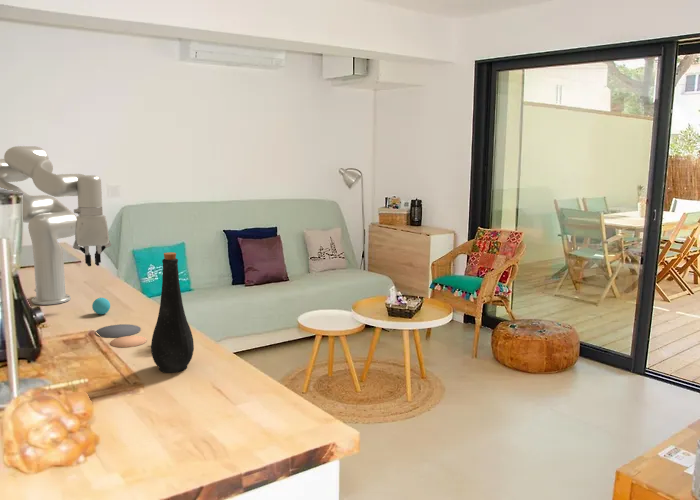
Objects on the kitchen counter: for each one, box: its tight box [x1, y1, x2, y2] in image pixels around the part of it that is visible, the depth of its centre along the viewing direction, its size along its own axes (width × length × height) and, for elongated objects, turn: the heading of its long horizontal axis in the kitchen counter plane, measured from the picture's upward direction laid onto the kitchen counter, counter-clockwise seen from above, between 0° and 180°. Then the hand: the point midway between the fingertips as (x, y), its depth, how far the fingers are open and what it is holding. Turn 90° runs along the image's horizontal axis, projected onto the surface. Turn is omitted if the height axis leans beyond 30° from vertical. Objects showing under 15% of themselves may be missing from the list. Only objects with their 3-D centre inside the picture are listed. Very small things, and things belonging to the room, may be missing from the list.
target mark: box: [95, 323, 142, 339], centre depth 187 cm, size 13×13×1 cm
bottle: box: [150, 251, 195, 374], centre depth 155 cm, size 11×11×30 cm
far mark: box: [109, 335, 148, 348], centre depth 177 cm, size 10×10×1 cm
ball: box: [91, 297, 111, 315], centre depth 204 cm, size 6×6×6 cm
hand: (93, 264), depth 210 cm, fingers closed
